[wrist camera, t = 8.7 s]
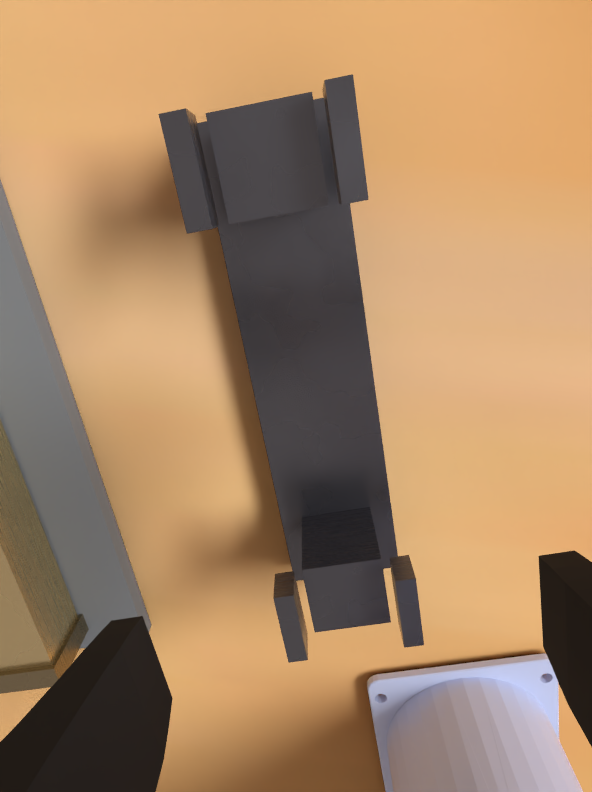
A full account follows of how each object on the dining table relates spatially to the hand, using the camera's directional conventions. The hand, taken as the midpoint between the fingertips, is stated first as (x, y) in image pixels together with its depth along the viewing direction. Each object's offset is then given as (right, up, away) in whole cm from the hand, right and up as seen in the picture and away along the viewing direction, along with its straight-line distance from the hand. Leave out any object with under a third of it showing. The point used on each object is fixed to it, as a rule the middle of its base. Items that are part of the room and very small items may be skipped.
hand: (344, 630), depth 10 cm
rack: (0, +5, +9) cm, 10 cm away
